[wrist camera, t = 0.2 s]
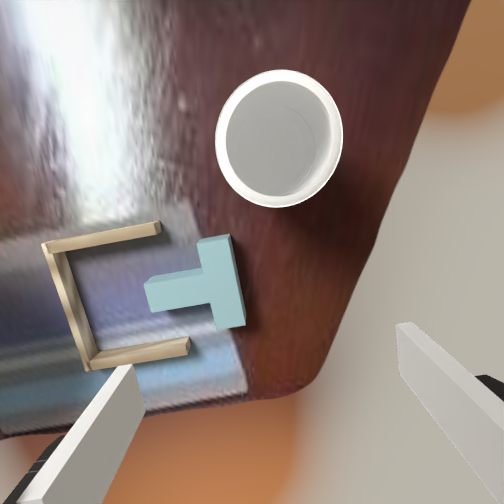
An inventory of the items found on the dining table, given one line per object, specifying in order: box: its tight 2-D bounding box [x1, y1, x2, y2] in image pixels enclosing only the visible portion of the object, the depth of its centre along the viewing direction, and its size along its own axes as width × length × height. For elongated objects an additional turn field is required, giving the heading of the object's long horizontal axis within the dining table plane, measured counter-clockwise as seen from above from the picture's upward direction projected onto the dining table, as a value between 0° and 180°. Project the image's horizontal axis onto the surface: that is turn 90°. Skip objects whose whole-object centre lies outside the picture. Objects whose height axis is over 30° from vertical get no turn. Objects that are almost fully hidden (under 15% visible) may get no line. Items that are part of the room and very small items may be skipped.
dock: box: [41, 221, 191, 371], centre depth 42 cm, size 19×15×2 cm
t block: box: [144, 234, 246, 330], centre depth 41 cm, size 12×12×4 cm
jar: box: [215, 70, 343, 207], centre depth 31 cm, size 11×10×15 cm
